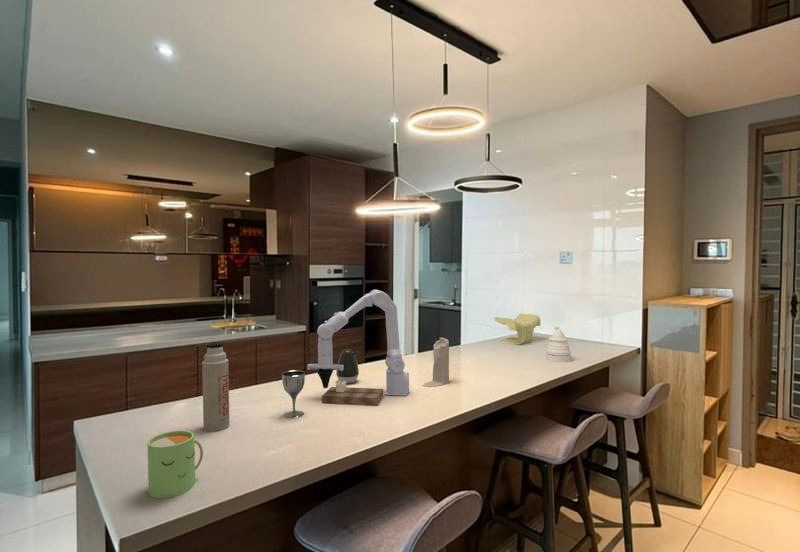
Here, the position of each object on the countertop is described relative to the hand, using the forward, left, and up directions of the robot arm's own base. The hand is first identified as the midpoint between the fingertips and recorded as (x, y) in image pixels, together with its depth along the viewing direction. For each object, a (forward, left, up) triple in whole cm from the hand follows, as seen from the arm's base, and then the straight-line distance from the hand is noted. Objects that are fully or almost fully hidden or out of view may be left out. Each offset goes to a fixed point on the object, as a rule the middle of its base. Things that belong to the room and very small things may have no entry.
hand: (325, 387), depth 173 cm
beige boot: (-42, -27, -5) cm, 50 cm away
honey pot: (-106, -83, -5) cm, 135 cm away
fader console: (-11, 0, -4) cm, 12 cm away
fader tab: (-6, 0, -1) cm, 7 cm away
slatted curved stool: (-90, -133, -5) cm, 161 cm away
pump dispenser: (-2, -24, -5) cm, 25 cm away
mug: (+15, +70, -5) cm, 72 cm away
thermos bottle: (+27, +34, -5) cm, 43 cm away
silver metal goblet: (+6, +19, -5) cm, 20 cm away
